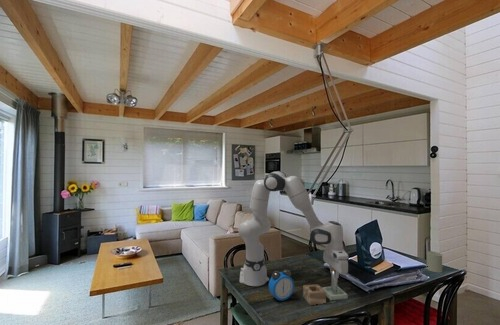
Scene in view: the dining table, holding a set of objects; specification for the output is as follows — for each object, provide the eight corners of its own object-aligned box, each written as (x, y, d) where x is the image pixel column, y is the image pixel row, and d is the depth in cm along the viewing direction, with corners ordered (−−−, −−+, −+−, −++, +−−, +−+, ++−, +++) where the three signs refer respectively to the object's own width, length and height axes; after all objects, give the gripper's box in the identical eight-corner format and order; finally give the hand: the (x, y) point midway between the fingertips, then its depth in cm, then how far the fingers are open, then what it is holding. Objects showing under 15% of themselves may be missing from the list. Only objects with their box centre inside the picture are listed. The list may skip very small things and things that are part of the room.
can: (437, 267, 181) (437, 250, 181) (445, 273, 172) (445, 255, 172) (423, 266, 182) (423, 250, 182) (431, 272, 173) (431, 254, 173)
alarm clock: (273, 303, 131) (273, 274, 132) (267, 297, 137) (268, 270, 137) (294, 298, 137) (294, 271, 137) (288, 293, 142) (288, 266, 142)
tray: (321, 291, 145) (321, 287, 145) (337, 289, 147) (337, 285, 147) (330, 300, 135) (330, 296, 135) (347, 298, 137) (347, 294, 137)
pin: (330, 290, 142) (330, 265, 142) (335, 290, 142) (335, 265, 143) (333, 293, 139) (333, 268, 139) (338, 292, 139) (338, 267, 139)
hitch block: (302, 296, 139) (303, 285, 139) (317, 294, 141) (317, 284, 141) (310, 305, 130) (310, 293, 130) (325, 303, 132) (326, 292, 132)
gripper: (320, 245, 150) (320, 268, 150) (339, 257, 130) (339, 284, 130) (330, 244, 152) (330, 267, 151) (350, 256, 132) (350, 283, 131)
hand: (334, 275), depth 141 cm, fingers closed on pin, 3 cm apart
